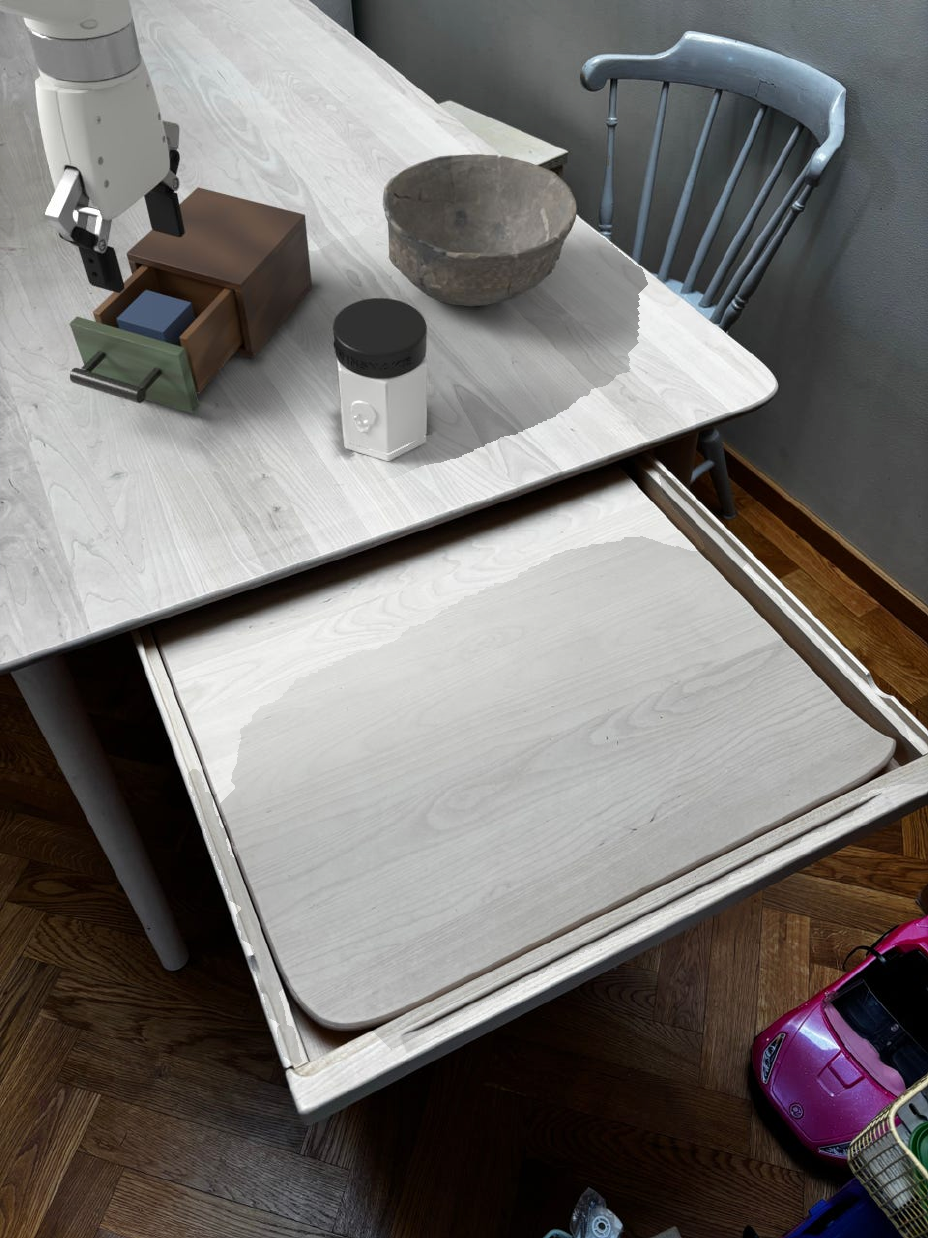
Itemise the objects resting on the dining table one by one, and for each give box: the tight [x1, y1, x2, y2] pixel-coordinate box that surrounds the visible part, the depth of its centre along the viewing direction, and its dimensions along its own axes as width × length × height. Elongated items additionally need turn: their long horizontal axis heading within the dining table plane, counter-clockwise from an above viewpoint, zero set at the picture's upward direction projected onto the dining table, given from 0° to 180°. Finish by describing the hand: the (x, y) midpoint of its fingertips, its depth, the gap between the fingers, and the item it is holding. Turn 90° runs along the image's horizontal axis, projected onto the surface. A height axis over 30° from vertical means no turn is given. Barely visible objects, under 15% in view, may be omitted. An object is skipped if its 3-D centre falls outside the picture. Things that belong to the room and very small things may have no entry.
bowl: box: [381, 153, 578, 307], centre depth 99 cm, size 21×21×10 cm
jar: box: [332, 297, 429, 462], centre depth 83 cm, size 9×8×12 cm
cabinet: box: [126, 187, 313, 359], centre depth 95 cm, size 14×13×9 cm
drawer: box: [69, 265, 244, 414], centre depth 88 cm, size 17×11×7 cm
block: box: [117, 290, 195, 347], centre depth 88 cm, size 5×5×6 cm
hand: (139, 259), depth 81 cm, fingers open, 9 cm apart
